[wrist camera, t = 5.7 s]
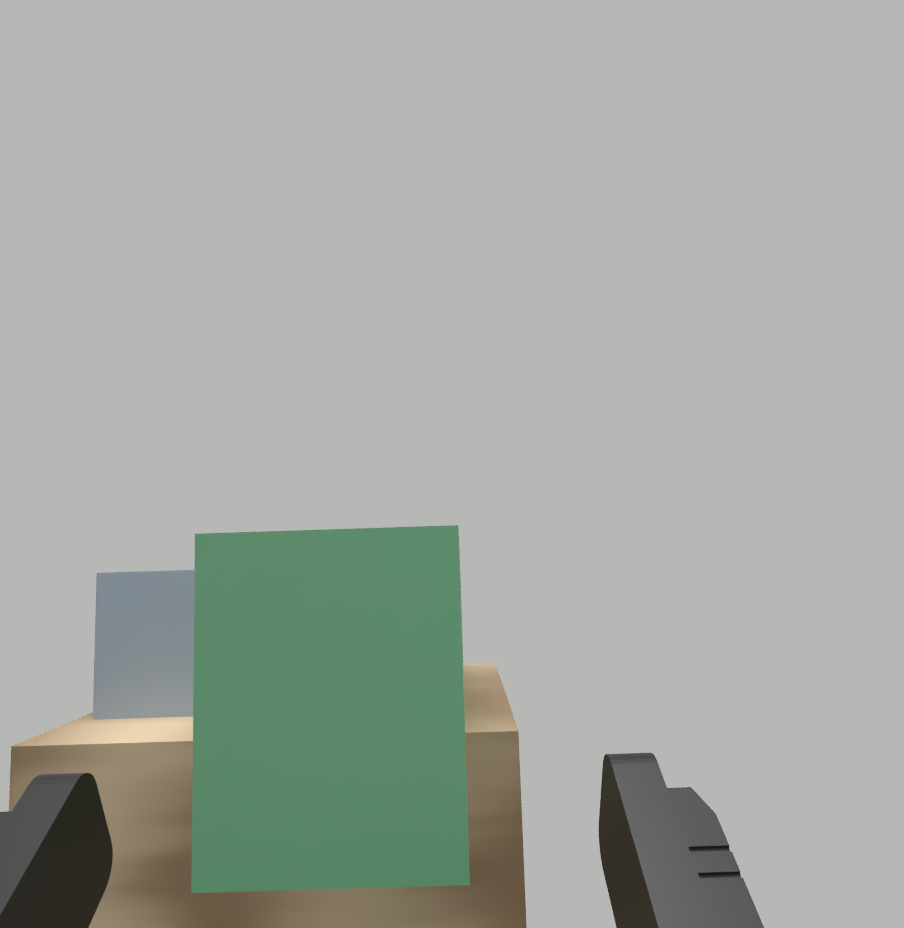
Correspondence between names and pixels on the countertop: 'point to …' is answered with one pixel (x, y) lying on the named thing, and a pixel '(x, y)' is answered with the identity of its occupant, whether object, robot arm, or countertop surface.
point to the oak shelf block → (289, 911)
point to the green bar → (328, 711)
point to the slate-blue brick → (144, 644)
